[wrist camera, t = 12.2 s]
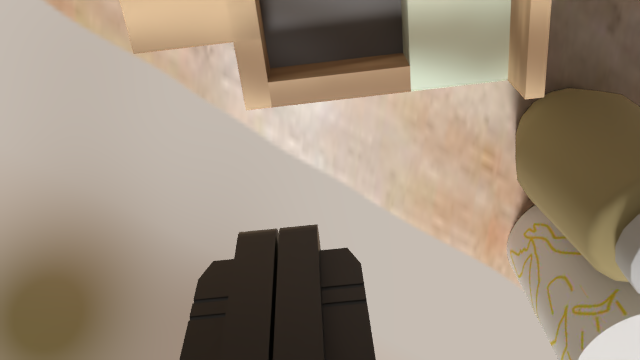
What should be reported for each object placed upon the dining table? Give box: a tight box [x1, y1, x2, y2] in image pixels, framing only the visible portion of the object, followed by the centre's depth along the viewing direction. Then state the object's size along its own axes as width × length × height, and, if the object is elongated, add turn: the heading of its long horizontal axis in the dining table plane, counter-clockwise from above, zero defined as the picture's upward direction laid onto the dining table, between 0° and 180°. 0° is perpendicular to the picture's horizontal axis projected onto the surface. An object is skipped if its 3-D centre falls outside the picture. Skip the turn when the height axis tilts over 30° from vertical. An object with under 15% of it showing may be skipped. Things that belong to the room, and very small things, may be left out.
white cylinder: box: [507, 205, 640, 360], centre depth 38 cm, size 8×8×12 cm
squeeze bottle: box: [516, 88, 640, 294], centre depth 31 cm, size 8×8×18 cm
